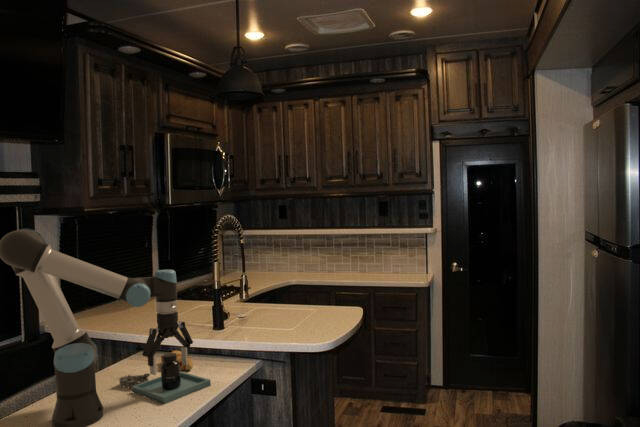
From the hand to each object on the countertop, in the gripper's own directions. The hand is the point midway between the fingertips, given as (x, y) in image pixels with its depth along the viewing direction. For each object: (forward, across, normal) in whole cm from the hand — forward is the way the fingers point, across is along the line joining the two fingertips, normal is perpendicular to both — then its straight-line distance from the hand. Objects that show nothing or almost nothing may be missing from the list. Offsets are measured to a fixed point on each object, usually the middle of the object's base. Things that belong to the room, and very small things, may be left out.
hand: (169, 369), depth 190 cm
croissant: (+8, +17, +20) cm, 28 cm away
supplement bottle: (+7, 0, 0) cm, 7 cm away
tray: (+8, 0, 0) cm, 8 cm away
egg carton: (+8, -5, +16) cm, 19 cm away
